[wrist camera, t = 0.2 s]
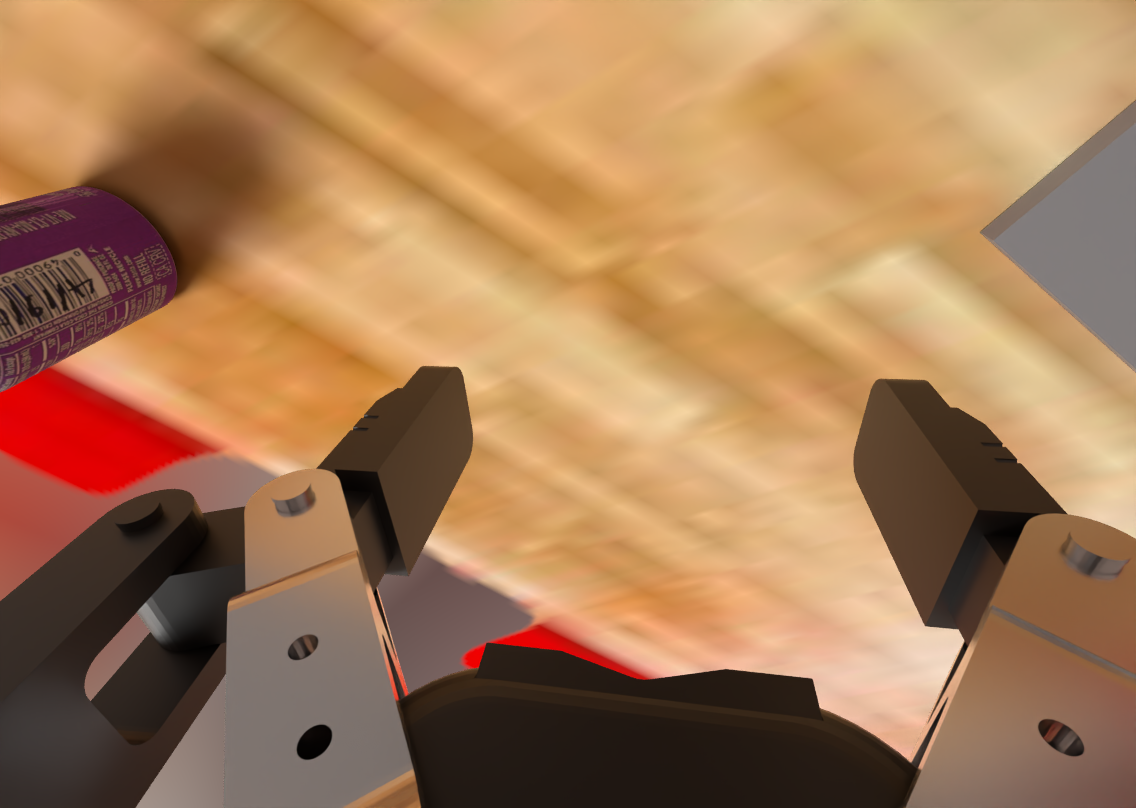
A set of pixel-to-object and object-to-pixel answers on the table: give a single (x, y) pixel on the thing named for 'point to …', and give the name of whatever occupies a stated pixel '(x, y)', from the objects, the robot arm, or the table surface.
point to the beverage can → (74, 276)
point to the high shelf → (1083, 235)
